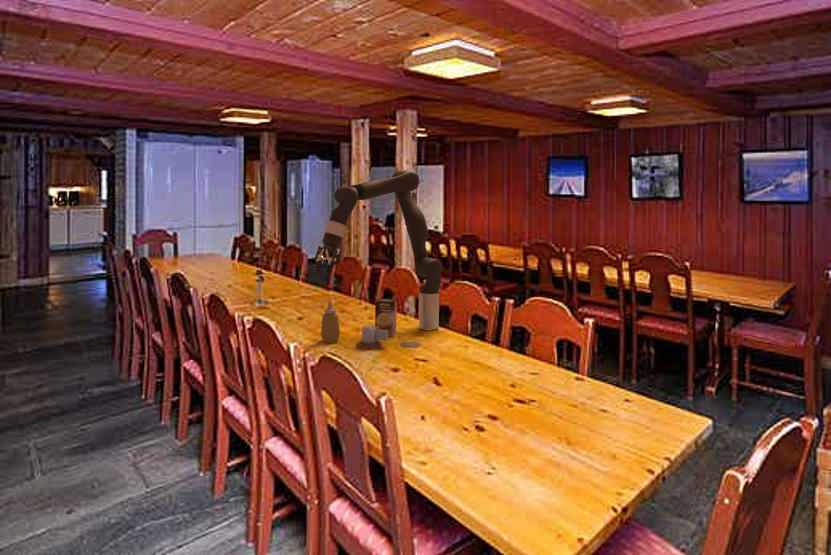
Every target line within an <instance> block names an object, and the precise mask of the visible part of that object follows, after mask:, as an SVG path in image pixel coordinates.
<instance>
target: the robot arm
mask: <svg viewBox="0 0 831 555" xmlns="http://www.w3.org/2000/svg"><path fill="white" fill-rule="evenodd" d="M419 185H420V176H419V174H418V173H417V172H416V171H414V170H411V169H410V170H409V169H406V170H405V169H403V170H402V169H401V170H396V171H395V172H394V173H393V174H392V177H390V178H389V177H388V178H382V179H374V180H368V181H364V182H361V183H357V184H351V185H345V186H339V187H337V189H336V190H335V192H334V193H333V197H334V200H335V202H337V203H338V206H337V207H336V208H335V207H334V208H333V210H332V211H331V214H330V217H329V221H328V223H327V224H326V228H325V231H324V234H323V237H322V240H321V243H322V244H323V246H322V245H321V246H320V245H319V246H317V249H316V253H315V256H314V261H315V262H316V265H315V267H314V272H317V273H320V272H321V269H322V266H323V263H324V261H326V260H327V266H326V269H325V275H327V276H331V275H332V271H333V268H334V267H335V266H338V264H339V261H340V257H341V253H342V250H340V248H341V247H342V242H343V240H344V237H345V233H346V228H347V224H348V221H349V218H350V215H351V214H352V212H353V211H354V209H355V208H356V206H357V204H358V201H366V200H370V199H373V198H377V197H382V196H384V195H388V194H393V193H395V195H396V198H397V201H398V202H399V206H400V210H401V212H402V215H403V220H404V224H405V228H406V232H407V234H408V238H409V242H410V245H411V249H412V254H413V260H414V266H415V267H414V268H415V269H416V273H417V274H418V276H420V277H422V278H425V283H424V284H422V285H420V286H419V288H418V290H419V291H418V292H419V293H418V294H419V296H418V303H419V304H418V312H419V313H418V329H419V328H420V330H421V329H437V328H438V329H439V325H440V324H439V322H440V321H439V320H440V319H439V316H440V314H439V312H440V289H441V285H442V274H443V272H442V269H443V268H442V263H441V262H440V260H438V259H437V258H431V257H429V255H428V252H427V248H426V245H427V244H426V243H427V238H428V233H429V229H428V223H427V221H426V218H425V215H424V213H423V212H422V210H421V209H420V208H419V206H418V205H417V203H416V201H415V200H414V198H413V195H412V192H414V190H415V191H416V189H417V188H418V187H419ZM438 329H437V330H438Z"/></svg>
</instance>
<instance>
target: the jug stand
mask: <svg viewBox="0 0 831 555" xmlns="http://www.w3.org/2000/svg"><path fill="white" fill-rule="evenodd" d="M354 349H356V350H359V351H370V352H371V351H378V350H381V349H384V344H382V341H379V340H376V344H374V345H363V344H362V339H361V340H358V341H357V342H356V344H355V345H354Z"/></svg>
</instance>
